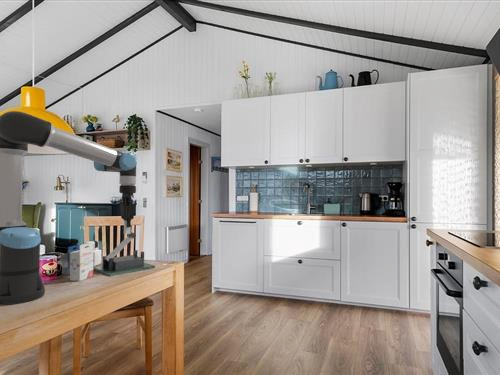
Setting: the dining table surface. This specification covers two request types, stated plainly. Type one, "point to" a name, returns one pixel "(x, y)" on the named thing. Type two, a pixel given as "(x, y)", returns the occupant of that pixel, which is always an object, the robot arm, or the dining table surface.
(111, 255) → the steel strap
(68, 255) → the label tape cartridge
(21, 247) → the robot arm
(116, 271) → the green fixture base plate
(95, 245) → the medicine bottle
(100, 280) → the dining table surface
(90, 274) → the ink cartridge box
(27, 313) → the dining table surface
